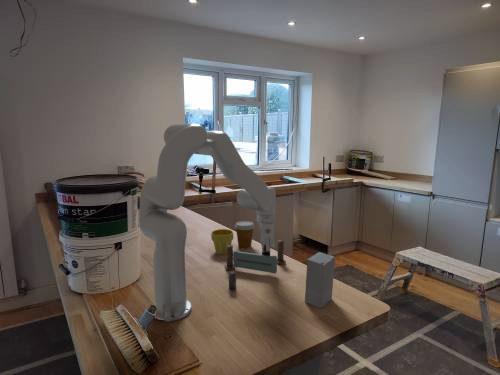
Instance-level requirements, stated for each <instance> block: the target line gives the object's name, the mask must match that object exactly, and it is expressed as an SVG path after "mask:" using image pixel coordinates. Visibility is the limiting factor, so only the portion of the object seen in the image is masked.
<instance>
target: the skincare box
mask: <svg viewBox="0 0 500 375" xmlns="http://www.w3.org/2000/svg"><path fill="white" fill-rule="evenodd" d="M306 262H307V263H306V273H305V274H306V276H305V277H306V278H305V279H306V280H305V290H304V291H305V293H304V294H305V295H304V303H306V304H308V305H311V306H313V307H316V308H318V309H323V307H325V306H326V305H327V304H328V303H329V302H330V301H331V300H332V298H333V288H334V277H335V276H334V275H335V264H336V257H335V256H334V255H330V254H327V253H324V252H320V251H318V252H317V253H315V254H313V255H312V256H310V257H309V258H308V259H307V260H306Z"/></svg>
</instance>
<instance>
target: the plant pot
mask: <svg viewBox="0 0 500 375" xmlns="http://www.w3.org/2000/svg"><path fill="white" fill-rule="evenodd" d="M210 235H211V241H212V243H213V246H214V252H215V253H216V254H218V255H227V245H232V242H233V240H234V231H233V230H232V229H227V228H219V229H214V230H213V231H211V232H210Z"/></svg>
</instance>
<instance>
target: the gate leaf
mask: <svg viewBox="0 0 500 375" xmlns="http://www.w3.org/2000/svg"><path fill="white" fill-rule="evenodd" d="M277 258H278V255H270V256H267V255H262V253H260V254H259V253H252V252H247V251H246V252H245V251H241V250H240V251H239V250H237V249H235V250H233V267H235V268H241V269H247V270H252V271H259V272H265V273H269V274H274V275H275V274H277V272H278V264H277Z"/></svg>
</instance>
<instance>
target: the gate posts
mask: <svg viewBox="0 0 500 375" xmlns="http://www.w3.org/2000/svg"><path fill="white" fill-rule="evenodd" d="M284 245H285V240H282V239H278V240H277V266H282V265H286V264H287V261H286V260H285V259H284V254H285V253H284V251H285V246H284ZM233 251H234V246H233V245H232V244H231V245H227V254H226V264H224V269H225V271H226V272H228V290H230V291H235V290H236V289H237V272H236V267H233Z"/></svg>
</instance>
